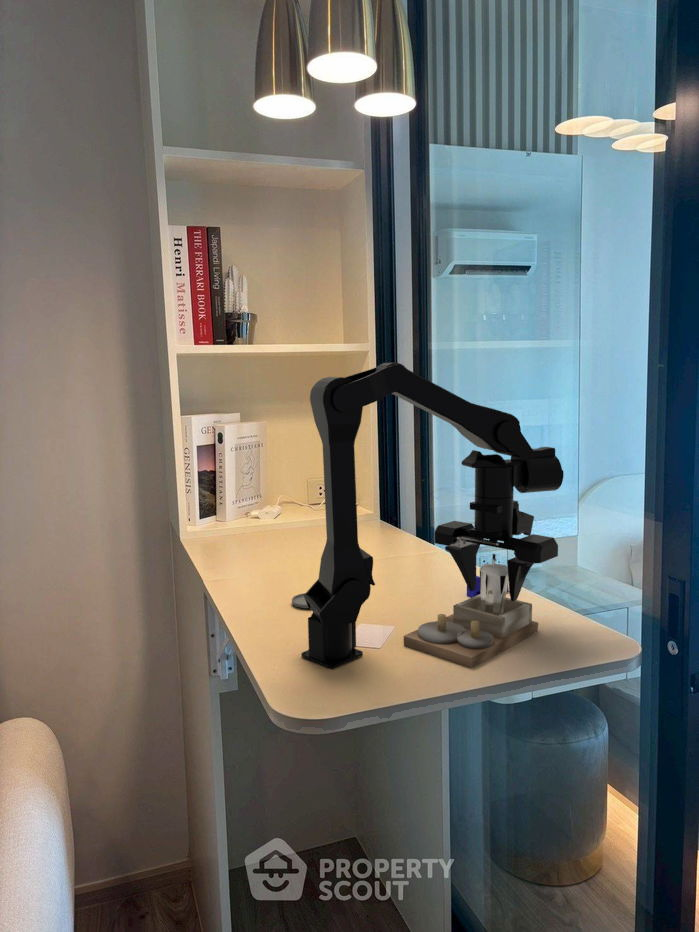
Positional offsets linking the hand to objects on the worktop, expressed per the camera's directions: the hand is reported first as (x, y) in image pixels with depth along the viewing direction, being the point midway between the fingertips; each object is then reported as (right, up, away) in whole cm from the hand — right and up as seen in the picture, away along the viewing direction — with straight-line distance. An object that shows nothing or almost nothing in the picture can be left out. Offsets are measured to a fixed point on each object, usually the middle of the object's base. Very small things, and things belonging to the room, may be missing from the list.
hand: (492, 595), depth 109 cm
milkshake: (0, -4, +1) cm, 4 cm away
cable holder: (+3, -4, +20) cm, 21 cm away
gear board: (-3, -6, -1) cm, 7 cm away
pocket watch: (-28, -5, +15) cm, 32 cm away
